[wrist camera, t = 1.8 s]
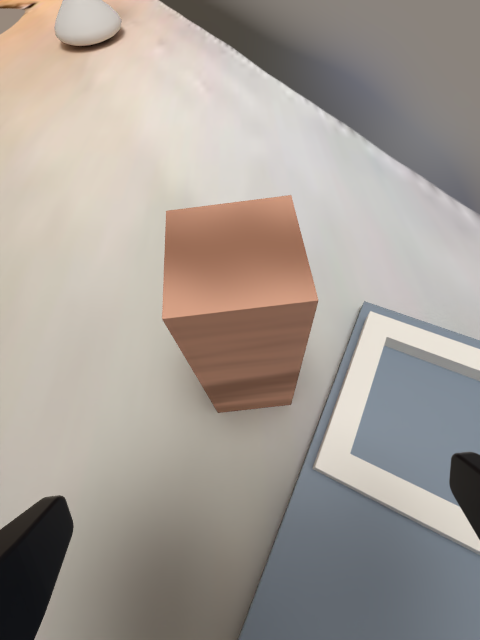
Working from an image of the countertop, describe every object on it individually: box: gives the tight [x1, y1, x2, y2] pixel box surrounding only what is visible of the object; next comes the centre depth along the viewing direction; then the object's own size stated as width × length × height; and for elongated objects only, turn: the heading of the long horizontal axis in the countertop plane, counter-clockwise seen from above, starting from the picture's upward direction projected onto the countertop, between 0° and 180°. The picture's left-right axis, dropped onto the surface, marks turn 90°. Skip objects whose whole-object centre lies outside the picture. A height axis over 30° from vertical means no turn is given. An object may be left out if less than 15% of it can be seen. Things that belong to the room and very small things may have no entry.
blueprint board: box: [238, 301, 480, 640], centre depth 16 cm, size 22×18×2 cm
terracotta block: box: [162, 195, 318, 413], centre depth 17 cm, size 5×5×13 cm
